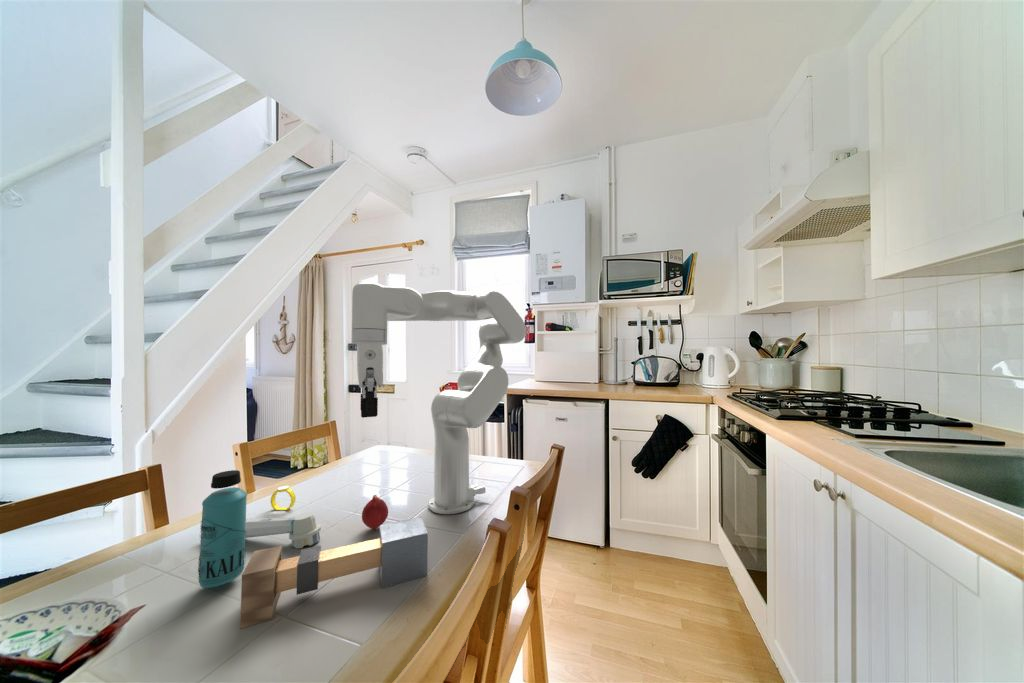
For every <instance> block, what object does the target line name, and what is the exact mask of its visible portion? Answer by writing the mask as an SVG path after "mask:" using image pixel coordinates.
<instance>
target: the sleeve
mask: <svg viewBox="0 0 1024 683" xmlns="http://www.w3.org/2000/svg"><path fill="white" fill-rule="evenodd" d="M428 533H429V532H428V531H427V528H426V525H425V523H424V521H423V519H422V516H419V517H414V518H413V517H412V518H410V519H404V520H399V521H394V522H388V523H383V524H382V525H380V526H379V538H381V544H382V564H381V567H378V568H379V576H380V577H379V578H380V586H381V587H380V588H381V589H384V588H389V587H391V586H395V585H398V584H402V583H405V582H406V583H407V582H409V581H412V580H416V579H419V578H424V577H427V576H428V556H429V555H428V553H429V552H428V547H429V546H428V543H429V542H428V541H429V540H428V539H429V538H428Z"/></svg>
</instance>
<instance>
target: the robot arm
mask: <svg viewBox="0 0 1024 683" xmlns="http://www.w3.org/2000/svg"><path fill="white" fill-rule="evenodd" d="M351 300H352V302H351V313H352V314H351V342H350V344H351V345H357V348H356V353H357V354H356V362H357V364H356V369H357V381H358V382H357V383H358V387H359V388H361V393H360V417H361V418H363V419H364V418H372V417H373V418H375V417H377V416H378V414H379V413H378V412H379V411H378V410H379V409H378V407H379V406H378V402H379V401H378V400H379V399H378V398H379V397H378V395H377V394H378V392H377V391H378V390H377V388H379V389H381V388H383V387H384V349H383V346H384V345H385V346H386V345H388V322H408V321H409V322H417V321H419V322H421V321H422V322H423V321H426V322H428V321H429V322H444V321H445V322H449V321H450V322H451V321H452V322H453V321H456V322H457V321H465V322H471V321H483V322H482V323H481V324H480V327H479V329H478V330H479V331H478V337H479V350H478V353H477V354H476V356H474V358H473V359H472V360H471V361H470V362H469V363H468V365H467V366H466V367H465V368H464V369H463V371H462V372H461V373H460V375H459V377H458V379H457V388H458V389H459V390H458V389H445V390H442V391H439V393H437V394H436V395H435V396H434V397H433V399H432V402H431V407H430V410H431V418H432V424H433V431H434V457H433V458H434V459H433V460H434V464H433V465H434V469H433V470H434V472H433V474H434V482H433V484H434V485H433V486H434V488H433V491H434V492H433V493H434V494H433V496H432V497H431V498H430V499H429V500H428V505H427V506H428V509H429V510H430V511H432V512H433V513H436V514H440V515H455V514H459V513H464V512H466V511H468V510H470V509H471V508H472V507H474V505H475V496H476V495H483V494H485V493H486V492H487V491H486V489H487V488H486V486H484V485H482V486H479V485H478V484H475V485H470V437H469V432H468V429H478V428H480V427H481V426H482V425H484V424H485V422H487V421H488V419H489V418H490V416H491V415H492V414H493V412H494V411H495V409H496V408H497V407H498V405H499V404H500V403H501V401H502V399H504V397H505V395H506V393H507V391H508V388H509V375H508V373H507V371H506V370H505V368H503V367H502V365H503V361H504V360H503V359H504V358H503V355H502V351H501V347H500V345H505V344H507V345H509V344H510V345H511V344H518V343H521V342H522V341H523V340H524V338H525V337H526V333H527V326H526V324H525V322H524V320H523V318H522V317H521V315H520V314H519V313H518V311H517V310H516V309H515V307H514V306H513V304H511V302H510V301H509V300H508V299H507V298H506V297H505V295H504V294H503V293H501V292H500V291H498V290H495V289H490V290H484V291H478V292H470V291H469V292H468V291H459V290H457V291H456V290H446V289H445V290H436V291H432V292H430V291H429V292H425V293H423V292H422V293H419V292H418V291H417V290H415V289H414V288H411V287H408V286H407V287H406V286H385V285H382V284H380V283H376V282H375V283H372V282H360V283H356V284H354V286H353V288H352V297H351Z"/></svg>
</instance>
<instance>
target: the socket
mask: <svg viewBox="0 0 1024 683" xmlns="http://www.w3.org/2000/svg"><path fill="white" fill-rule="evenodd" d="M279 560H283V544H282V545H277V546H273V547H269V548H263V549H258V550H254V551H253V552H252V555H251V557H250V558H249V560H248V563H247V565H245V567H244V569H243V572H242V573H241V588H240V589H241V592H240V593H241V594H240V619H239V620H240V622H239V623H240V624H239V628H240V629H242V628H247V627H250V626H254V625H257V624H261V623H264V622H267V621H271V620H273V618H274V615H275V612H276V608H277V606H278V603H279V599H280V596H281V593H282V592H279V593H275V594H274V588H275V569H276V566H277V563H278V561H279Z"/></svg>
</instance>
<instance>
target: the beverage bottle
mask: <svg viewBox="0 0 1024 683" xmlns="http://www.w3.org/2000/svg"><path fill="white" fill-rule="evenodd" d="M241 482H242V479H241V471H240V470H236V469H232V470H225V471H220V472H217V473H216V474H213V475H212V477H211V483H210V487H211V489H215V491H213V492H211V493H210V494H209V495H208V496H207V497H206V498H204V500H202V503H201V506H202V511H201V512H202V513H201V514H202V515H201V521H200V526H199V527H200V536H199V539H200V540H199V541H200V544H199V545H200V548H199V550H200V551H199V556H198V569H197V570H198V571H197V574H198V576H197V579H198V584H199V586H200V587H201V588H205V589H209V588H215V587H219V586H222V585H225V584H227V583H229V582H232V581H233V580H235V579H237V578H238V577H239V576H241V575H242V574H243V572H244V570H245V559H246V552H247V551H246V550H247V548H246V538H245V535H246V533H247V532H246V530H245V525H246V519H247V518H246V517H247V499H248V498H247V497H248V493H247V491H245V490H244V489H242V488H241V487H236V486H237V485H238V484H240V483H241ZM234 486H235V487H234ZM216 489H218V490H216Z"/></svg>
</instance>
